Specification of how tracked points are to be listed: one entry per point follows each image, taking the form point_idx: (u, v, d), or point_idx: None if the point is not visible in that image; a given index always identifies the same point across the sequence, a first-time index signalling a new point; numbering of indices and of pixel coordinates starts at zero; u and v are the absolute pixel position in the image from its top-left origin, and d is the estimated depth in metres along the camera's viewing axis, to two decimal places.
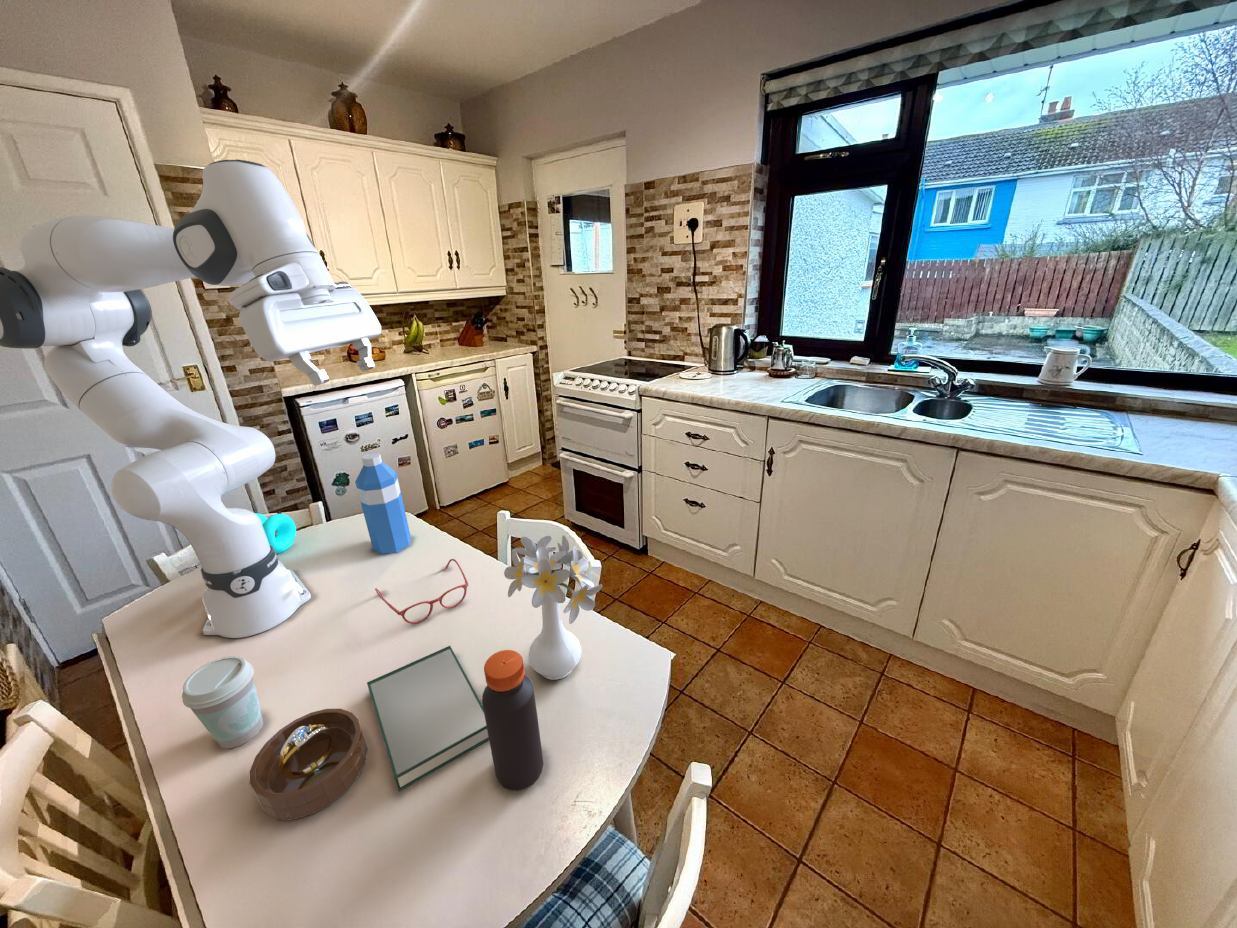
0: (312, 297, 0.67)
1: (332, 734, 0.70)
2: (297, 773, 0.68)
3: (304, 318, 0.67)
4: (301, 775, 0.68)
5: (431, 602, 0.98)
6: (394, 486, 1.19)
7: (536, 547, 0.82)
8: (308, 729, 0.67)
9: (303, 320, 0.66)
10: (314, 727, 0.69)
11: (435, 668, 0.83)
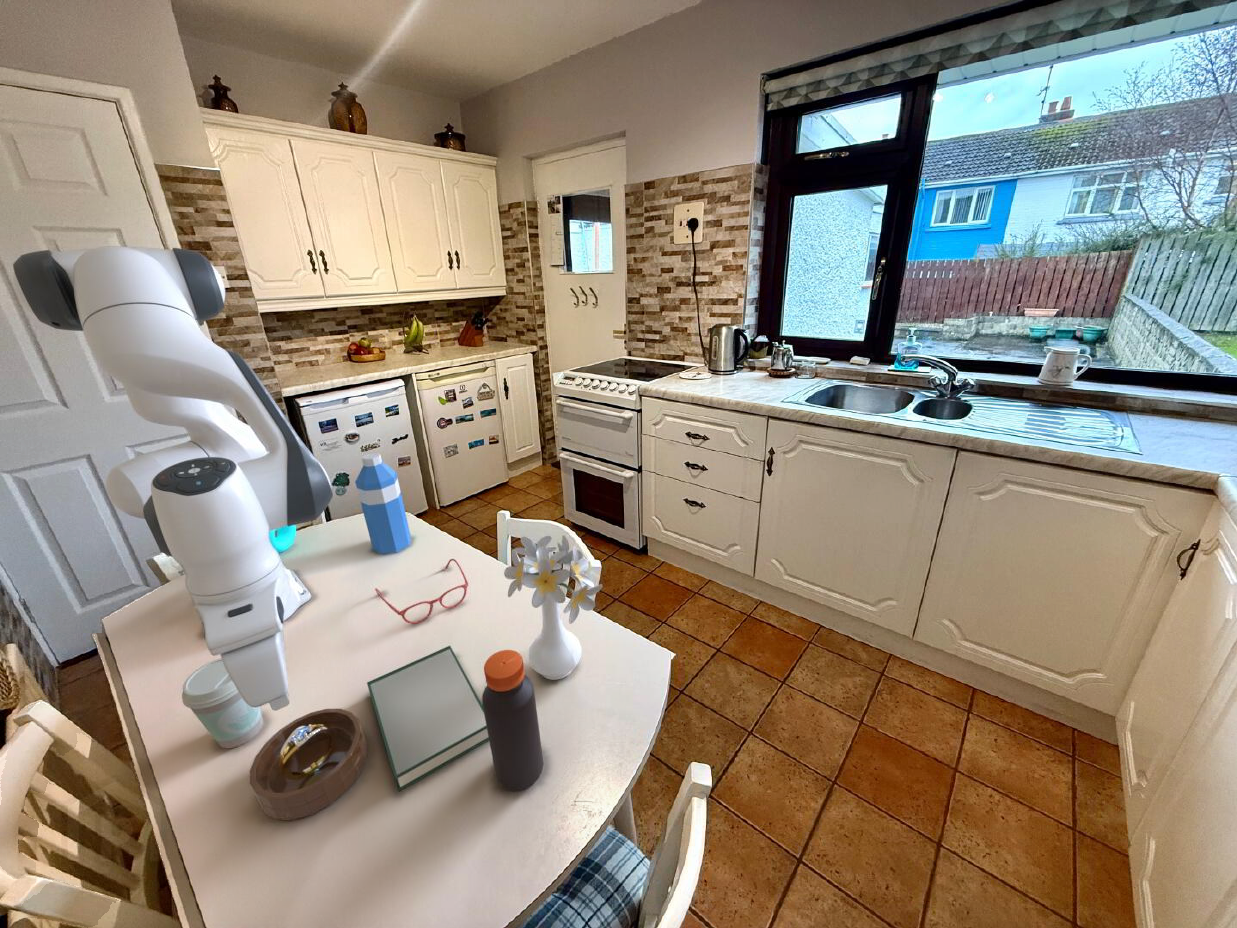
0: None
1: (332, 734, 0.70)
2: (297, 773, 0.68)
3: None
4: (301, 775, 0.68)
5: (431, 602, 0.98)
6: (394, 486, 1.19)
7: (536, 547, 0.82)
8: (308, 729, 0.67)
9: None
10: (314, 727, 0.69)
11: (435, 668, 0.83)
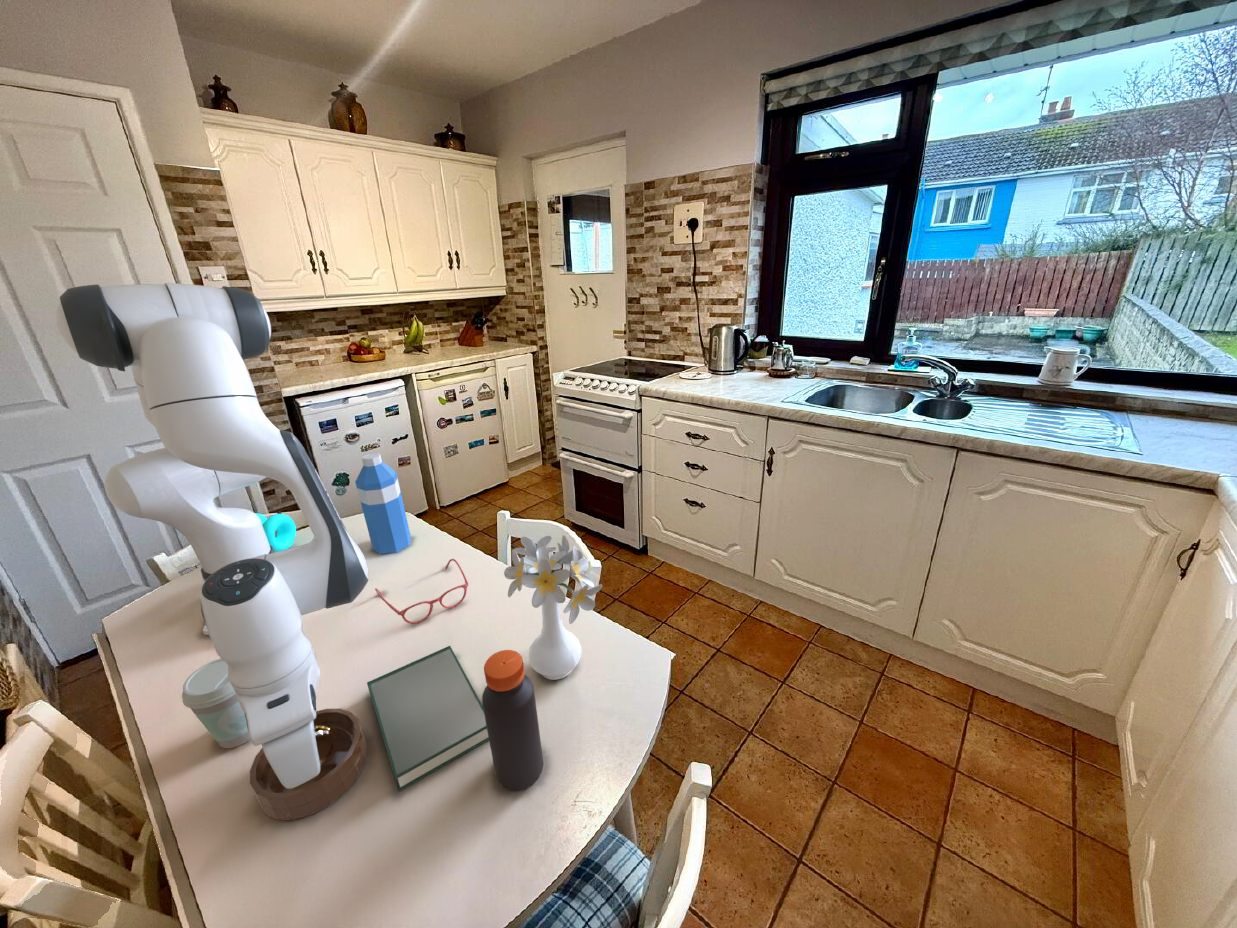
0: None
1: (333, 738, 0.69)
2: None
3: None
4: None
5: (431, 602, 0.98)
6: (394, 486, 1.19)
7: (536, 547, 0.82)
8: None
9: None
10: (316, 728, 0.69)
11: (435, 668, 0.83)
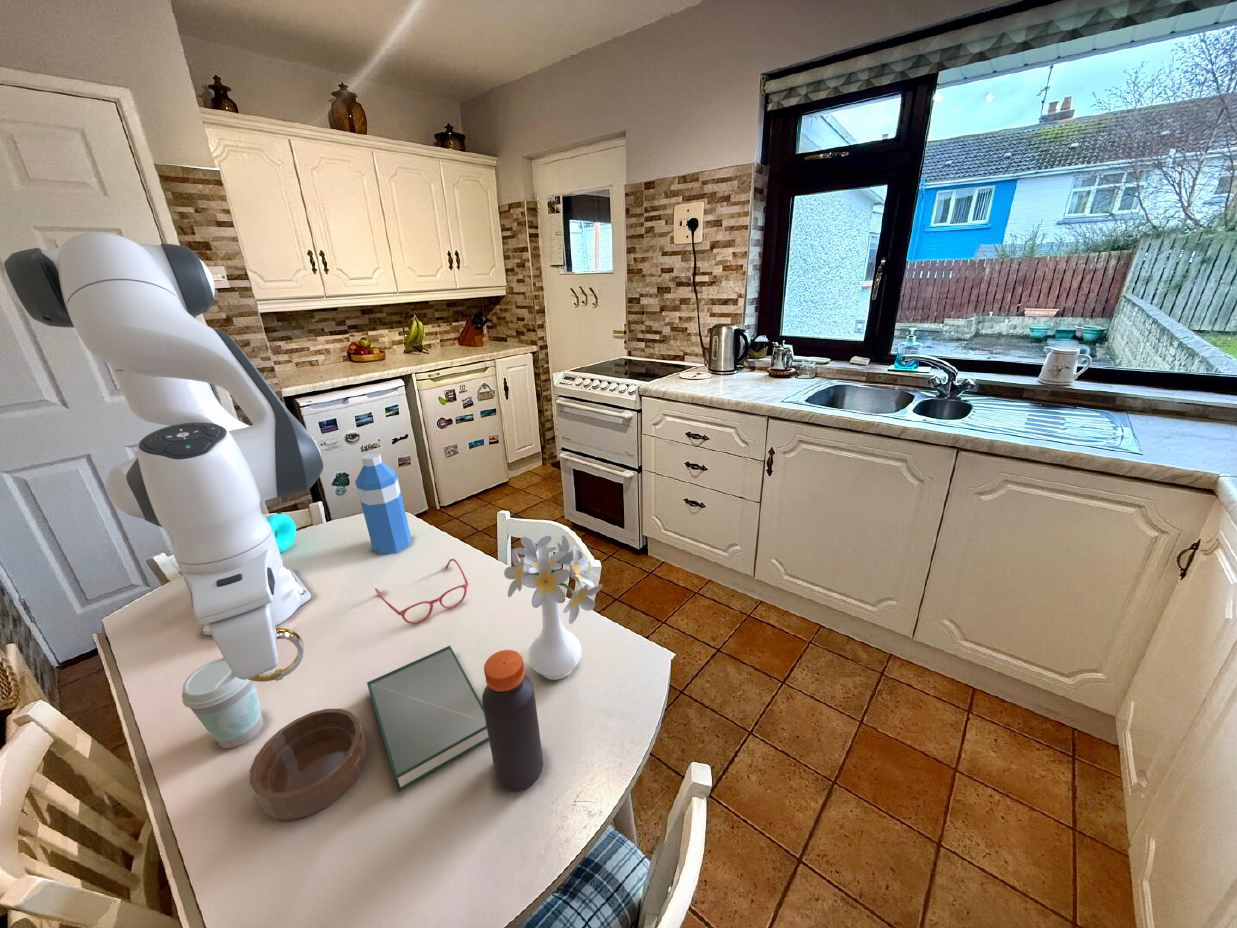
0: None
1: (298, 644, 0.62)
2: (257, 675, 0.61)
3: None
4: (260, 678, 0.61)
5: (431, 602, 0.98)
6: (394, 486, 1.19)
7: (536, 547, 0.82)
8: None
9: None
10: (280, 631, 0.62)
11: (435, 668, 0.83)
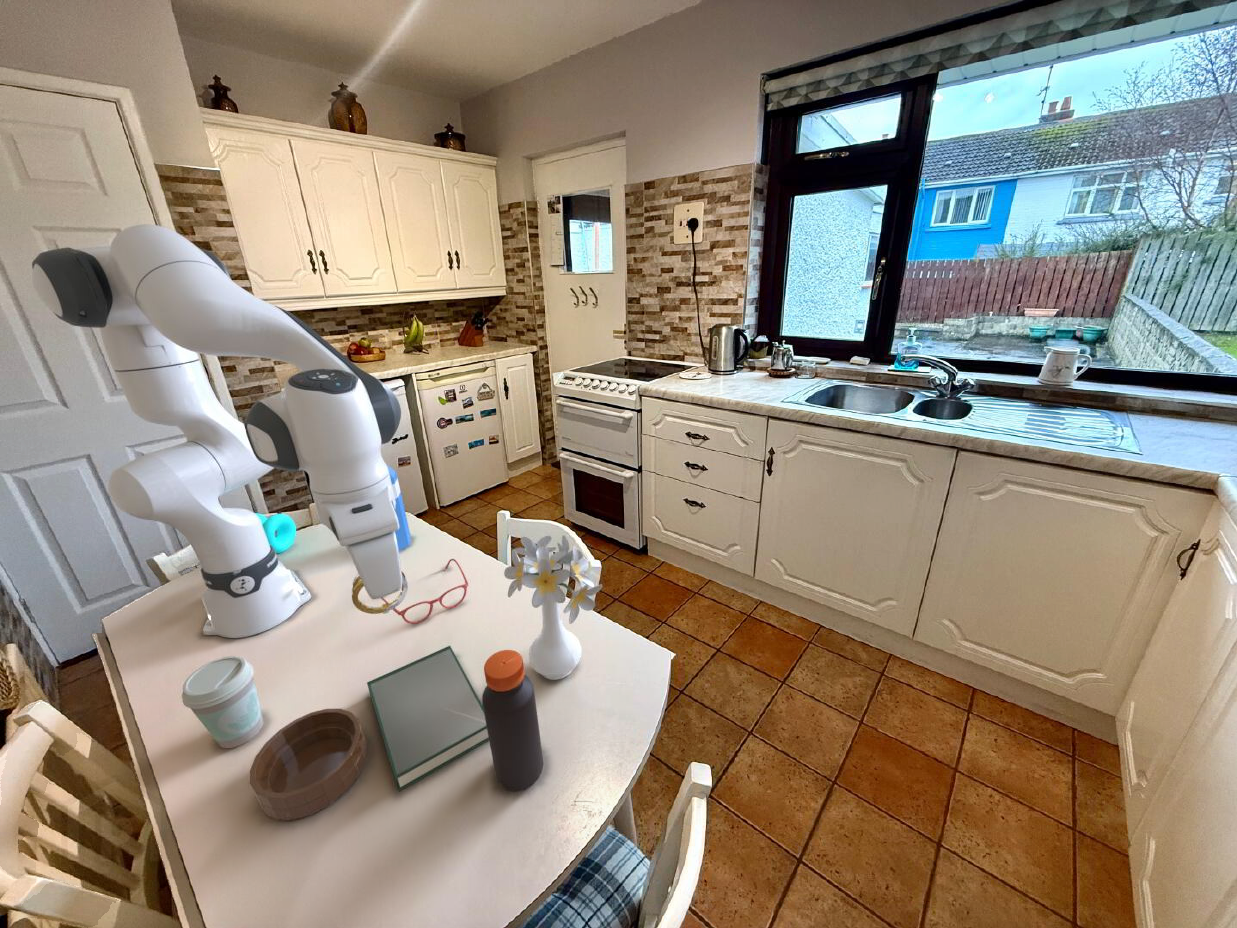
0: None
1: (404, 580, 0.68)
2: (367, 607, 0.67)
3: None
4: (371, 610, 0.67)
5: (431, 602, 0.98)
6: (394, 486, 1.19)
7: (536, 547, 0.82)
8: None
9: None
10: None
11: (435, 668, 0.83)
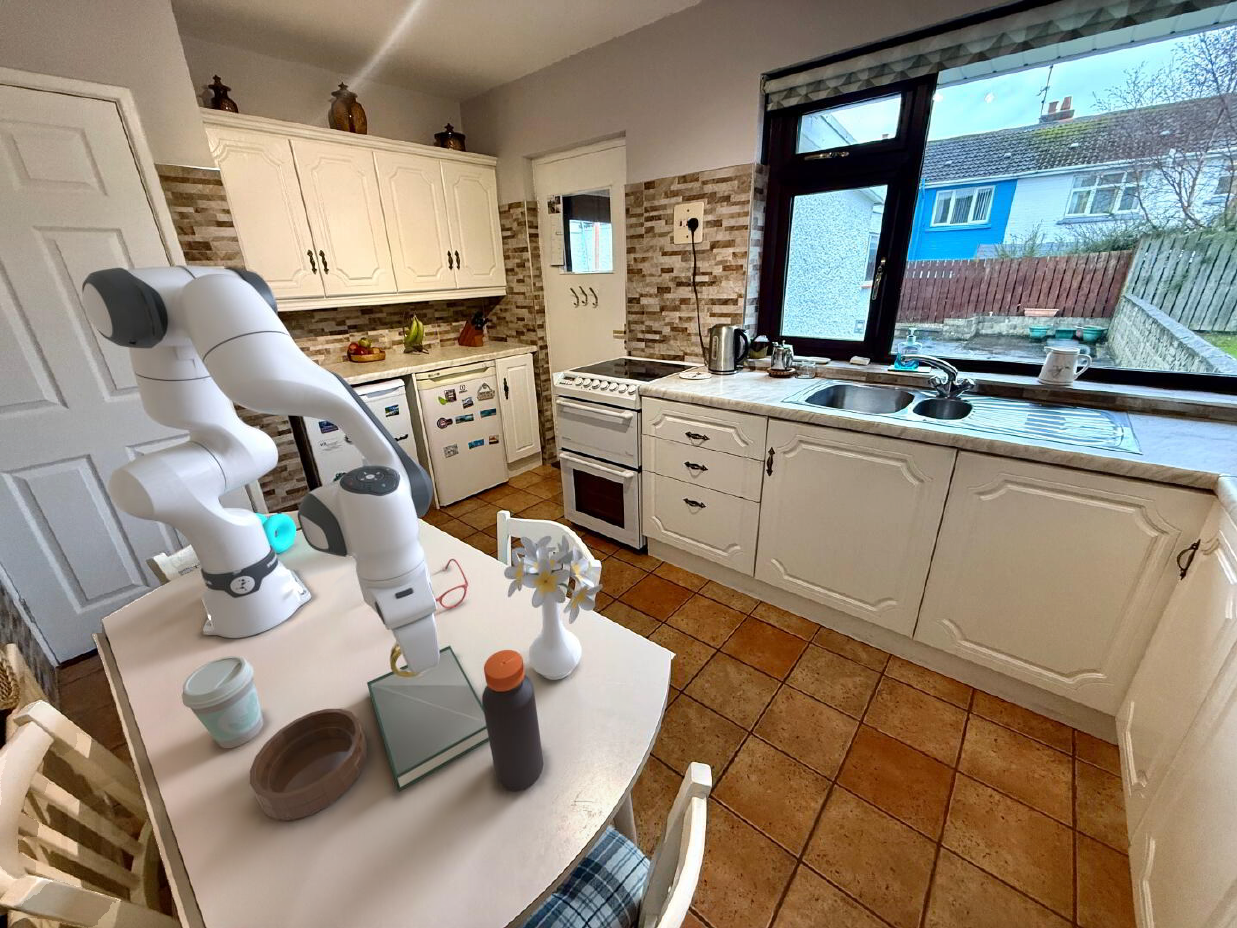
0: None
1: None
2: (403, 671, 0.73)
3: None
4: (406, 674, 0.73)
5: None
6: None
7: (536, 547, 0.82)
8: None
9: None
10: None
11: (435, 668, 0.83)
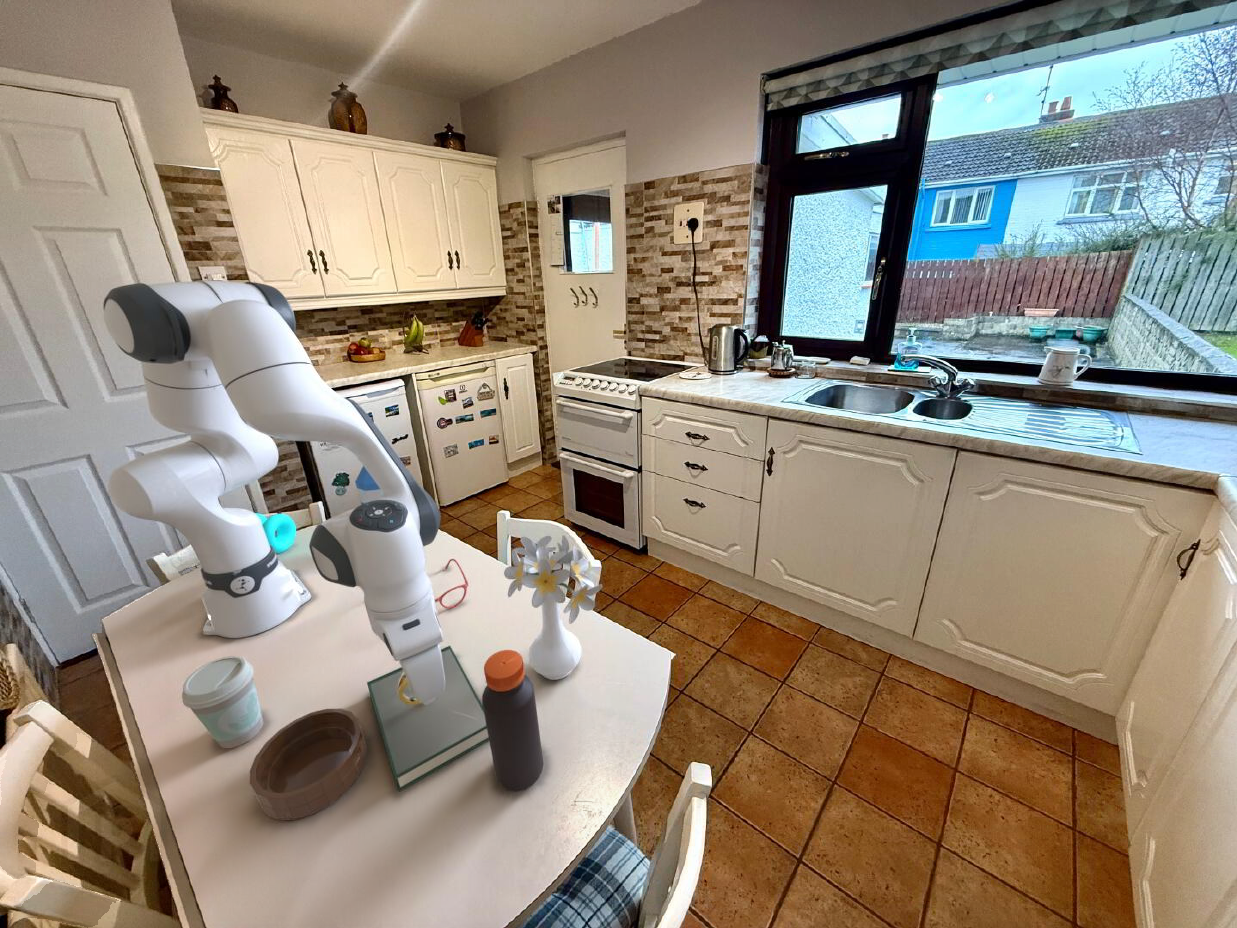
0: None
1: None
2: (411, 699, 0.76)
3: None
4: (413, 702, 0.76)
5: None
6: None
7: (536, 547, 0.82)
8: None
9: None
10: None
11: None
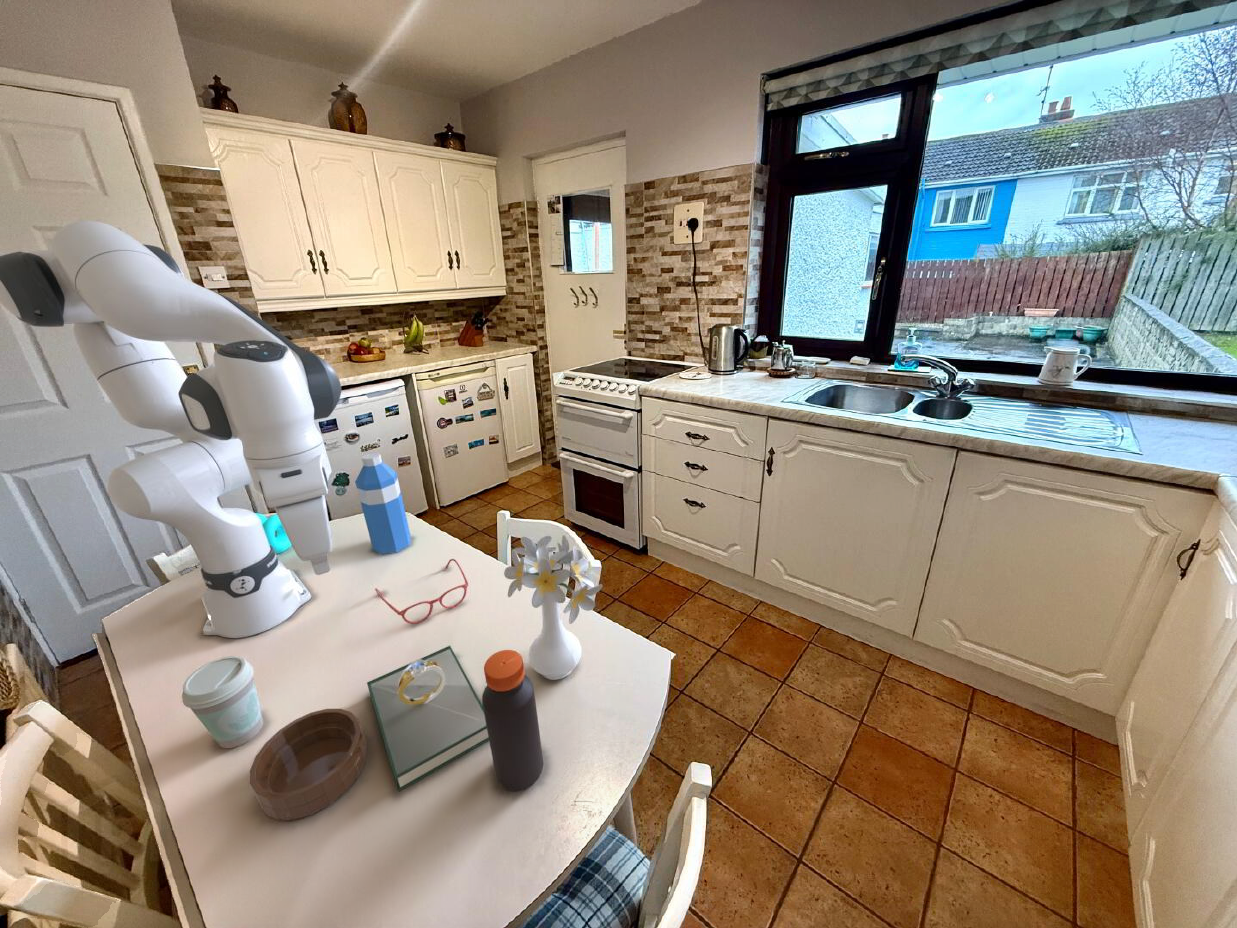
0: None
1: (442, 674, 0.77)
2: (411, 699, 0.76)
3: None
4: (413, 702, 0.76)
5: (431, 602, 0.98)
6: (394, 486, 1.19)
7: (536, 547, 0.82)
8: (423, 663, 0.75)
9: None
10: (429, 663, 0.76)
11: None
